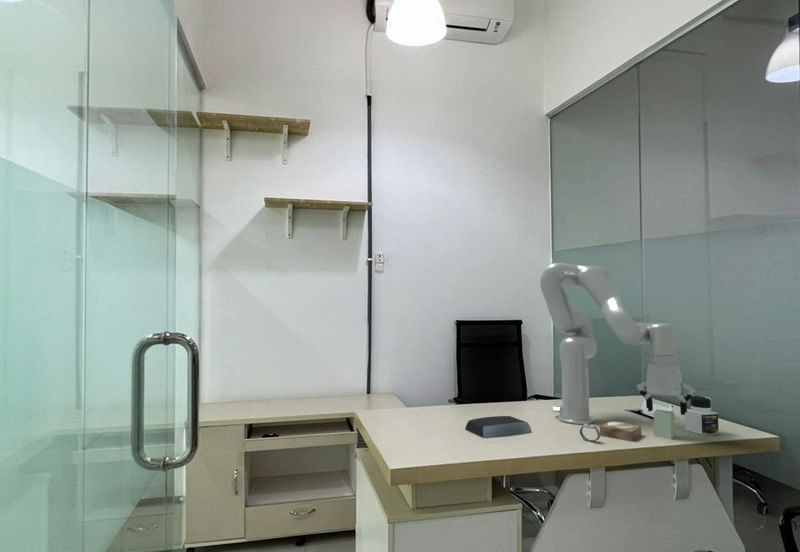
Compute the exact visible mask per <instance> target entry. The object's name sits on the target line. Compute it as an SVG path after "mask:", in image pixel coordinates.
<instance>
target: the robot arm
mask: <svg viewBox="0 0 800 552" xmlns="http://www.w3.org/2000/svg"><path fill="white" fill-rule="evenodd" d="M610 277H611V276H610V274H609V272H608V271H607V270H606V269H605V268H604V267H602V266H597V265H579V264H578V265H577V264H573V263H565V262H553V263H551V264H549V265H548V266H546V267H545V269H543V271H542V274H541V275H540V280H539V281H540V283H539V284H540V289H541V293H542V296H543V298H544V301H545V303H546V307H547V309H548V312H549V315H550V317H551V321H552V323H553V326H554V328H555V330H556V331H558V332H559V333H562V334H567V335H568V336H567V337H565V338H563V340H562V341H561V342H560V345H559V349H558V350H559V358H560V365H561V401H562V403H561V404H562V405H561V406H557V405H556V406H555V405H553V406H552V412H553V413H558V414H559V415H558V416H557V417H558V418H557V419H558V420H559V421H560V422H563V423H566V424H567V423H568V424H574V425H584V424H591V425H592V424H594V422H595V418H594V417H593V416H590V382H589V381H590V379H589V376H590V375H589V374H590V373H589V367H588V361H587V360H590V359H591V358H593V357H594V356H595V355H596V354H597V351H598V344H597V341H596V338H595V336H594V332H593V330H592V328H591V324H590V322H589V320H588V318H587V316H586V315H585V314H584V312H583V311H581V310H579V309H578V308H573V306H572V304H571V302H570V299H569V295H568V293H566V291H565V288H564V287H563V286H572V287H579V288H581V287H582V288H584V290H585V291H586V292H587V294H588V295H589V297H591V298H592V300H593V301H594V302H595V304H596V305H597V306H598V307H599V309H600V310H601V313H602V315H603V317H604V319H605V321H606V323H607V324H608V326H609V327H610V329H612V331H613V332H614V333H615V335H616V336H617V337H618V338H619V339H620V340H621V342H623V343H624V344H627V345H629V346H639V345H646V344H649V355H646V356H645V360H646V361H649V363H648V364H647V370H646V371H647V372H646V380H645V381H643V382H641V383H639V384H637V385H636V388H637V390H638V391H639V394H641V396H642V397H643V398H644V399H645V403H646V409H647V411H648V412H652V411H654V407H653V406H654V405H653V404H654V403H653V398H652V396H653V395H654V396H664V397H677V398H678V399H679V400H680V402H679V407H680V415H681V416H685V412H687V409H688V405H687V402H688V401H689V400H690V398H692V396H694V394H695V392H696V388H694V387H692V386H691V385H688V384H686V383H685V382H683V379H682V372H681V368H680V365H679V364H677V352H676V338H675V335H676V333H675V327H674V325H673V324H672V323H668V322H667V323H666V322H665V323H663V322H661V323H659V322H658V323H657V322H656V323H646V322H635V321H634V320H633V318H632V317H631V316H630V315H629V313H628V312H627V311H626V308H624V305H623V303H622V301H623V297H622V294H621V292H620V291H619V290H618V289H617V288H616V287H615V286H614V285H613V284H612V282H611V281H610V280H611V278H610ZM644 387H646V391H645V390H644ZM684 389H685V390H687V391H688V393H687V394H686V396H685V395H684Z"/></svg>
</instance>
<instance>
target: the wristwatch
mask: <svg viewBox="0 0 800 552" xmlns="http://www.w3.org/2000/svg"><path fill="white" fill-rule="evenodd" d="M584 428H586V429H587V428H588V429H592V430H593V429H594V431H595V432H596V433H597V434H596V435H597V437H596V438H595V439H589V438H587V437H586V436H585V435H584V433H583V429H584ZM579 434H580V436H581V438H582V439H583V440H584V441H586V442H590V443H593V442H595V441H598V440H599V439H600V437H601V436H600V429H599V428H598V427H597V425H595V424H592V423H591V424H582V426H581V427H580V428H579Z"/></svg>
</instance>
